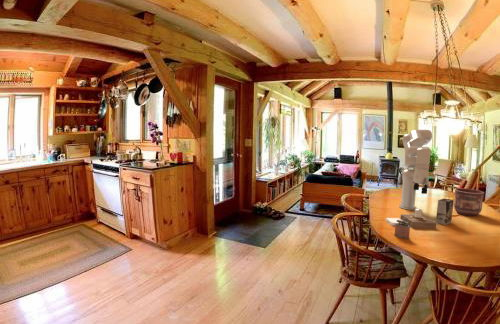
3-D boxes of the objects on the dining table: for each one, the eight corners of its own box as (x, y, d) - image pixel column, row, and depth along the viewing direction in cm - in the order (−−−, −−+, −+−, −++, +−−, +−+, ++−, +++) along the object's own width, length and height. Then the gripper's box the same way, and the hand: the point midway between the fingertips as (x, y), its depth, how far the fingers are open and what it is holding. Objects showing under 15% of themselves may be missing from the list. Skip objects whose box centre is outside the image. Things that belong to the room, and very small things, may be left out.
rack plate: (400, 219, 193) (400, 213, 193) (422, 220, 192) (422, 214, 191) (412, 227, 177) (412, 221, 177) (436, 228, 176) (436, 222, 176)
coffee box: (446, 225, 182) (448, 202, 180) (435, 222, 187) (437, 199, 185) (451, 222, 187) (454, 200, 185) (441, 220, 192) (443, 198, 190)
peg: (412, 222, 187) (413, 208, 186) (418, 222, 187) (419, 208, 185) (415, 224, 183) (416, 210, 182) (421, 225, 183) (423, 210, 181)
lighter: (410, 238, 161) (411, 221, 159) (408, 239, 158) (409, 223, 157) (395, 234, 166) (396, 218, 165) (393, 235, 164) (394, 219, 163)
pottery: (487, 218, 197) (490, 193, 195) (460, 216, 201) (462, 192, 199) (473, 211, 215) (475, 188, 213) (448, 209, 218) (450, 187, 216)
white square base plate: (385, 220, 191) (385, 217, 191) (398, 221, 190) (398, 218, 190) (391, 225, 181) (392, 222, 181) (405, 226, 180) (406, 223, 180)
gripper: (409, 164, 189) (407, 188, 191) (423, 168, 172) (421, 195, 174) (420, 164, 188) (418, 188, 191) (436, 168, 171) (433, 195, 173)
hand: (420, 191), depth 182 cm, fingers open, 9 cm apart
